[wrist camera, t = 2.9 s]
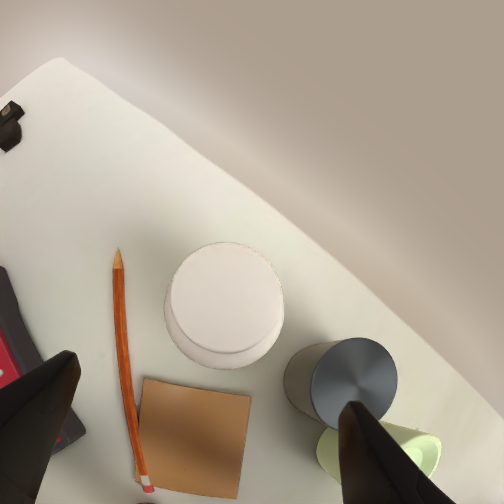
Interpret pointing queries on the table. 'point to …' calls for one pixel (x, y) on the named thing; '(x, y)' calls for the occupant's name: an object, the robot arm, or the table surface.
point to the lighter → (10, 125)
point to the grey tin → (341, 379)
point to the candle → (411, 441)
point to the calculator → (25, 356)
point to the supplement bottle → (224, 306)
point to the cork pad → (192, 438)
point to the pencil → (127, 371)
